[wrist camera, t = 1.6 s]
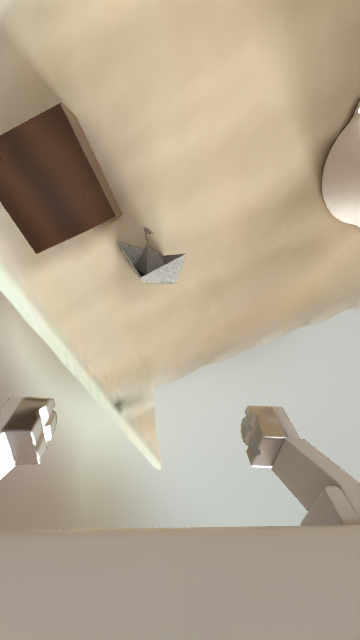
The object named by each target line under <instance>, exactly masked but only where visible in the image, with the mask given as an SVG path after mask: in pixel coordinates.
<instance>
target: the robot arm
mask: <svg viewBox="0 0 360 640" xmlns="http://www.w3.org/2000/svg"><path fill="white" fill-rule="evenodd" d="M322 193H323V198H324V202H325V204H326V206H327V208H328V210H329V211H330V213H331V214H332V215H333V216H334V217H335V218H337V219H338V220H340V221H342V222H345V223H349V224H353V225H356V226H358V227H359V228H360V101H359V103H358V106H357V108H356V111H355V113H354V116H353V118H352V119H351V121H350V122H349V124H348V125H347V126H346V127H345V129H344V130H343V131H342V133H341V134H340V135H339V137H338V138H337V140H336V141H335V143H334V145H333V146H332V148H331V150H330V152H329V155H328V157H327V160H326V163H325V166H324V170H323V176H322ZM54 406H55V403H54V399H52V398H39V397H19V396H12V397H11V398H9V399H8V401H7V402H6V403H5V405H4V406H3V407H2V409H1V410H0V479H1V478H3V477H4V476H5V475H6V474H7V473H8V472H9V471H10V470H11V469H13V468H14V467H15V465H19V464H20V465H21V464H40V462H41V460H42V458H43V456H44V453H45V451H46V449H47V444H46V441H48V440H49V439H50V438H51V437H52V436H53V434H54V431H55V427H56V423H57V415H56V412H55V411H54V410H53V408H54ZM245 414H246V417H245V418H243V419H242V423H241V435H242V439H243V442H244V443H245V444H246V445H247V446H248V449H247V451H246V452H247V455H248V458H249V461H250V464H251V467H271V469H272V470H273V472H274V473H275V474H276V475H277V476H278V477H279V478H280V480H281V481H282V482H283V483H284V484H285V485H286V487H287V488H288V489H289V490H290V491H291V492H292V493H293V495H294V496H295V497H296V498H297V499H298V500H299V502H300V503H301V504H302V505H303V506H304V507H305V509H306V510H307V511H308V512H307V514H306V516H305V517H304V519H303V520H302V522H301V526H260V527H259V526H257V527H255V526H254V527H185V528H121V529H120V528H119V529H61V530H59V529H56V530H0V640H360V483H359V482H358V481H357V480H355V479H354V478H353V477H352V476H350V475H349V474H348V473H346V472H345V471H344V470H343V469H341V468H340V467H339V466H338V465H336V464H335V463H334V462H332V461H331V460H330V459H329V458H327V457H326V456H325V455H324V454H322V453H321V452H320V451H318V450H317V449H316V448H315V447H313V446H312V445H311V444H310V443H308V442H307V441H306V440H304V439H300V437H299V435H298V433H297V432H296V430H295V428H294V426H293V425H292V423H291V422H290V419H289V418H288V416H287V414H286V412H285V410H284V409H283V408H282V407H273V406H270V407H269V406H247V408H246V410H245Z"/></svg>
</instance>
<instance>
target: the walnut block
mask: <svg viewBox="0 0 360 640" xmlns="http://www.w3.org/2000/svg"><path fill="white" fill-rule="evenodd" d="M0 202H1V203H2V205H3V206H4V208H5V209H6V210H7V212H8V213H9V215H10V216H11V218H12V219H13V221H14V222H15V224H16V225H17V227H18V228H19V229H20V231H21V232H22V234H23V235H24V237H25V238H26V240H27V241H28V243H29V244H30V246H31V247H32V248H33V250H34V251H35V253H36V254H37V253H40V252H42V251H44V250H46V249H48V248H51V247H53V246H55V245H57V244H59V243H62V242H64V241H66V240H68V239H70V238H72V237H75V236H77V235H79V234H81V233H83V232H86V231H88V230H90V229H92V228H94V227H97V226H99V225H101V224H103V223H105V222H107V221H110V220H112V219H114V218H116V217H118V216H120V215H122V212H121V210H120V208H119V206H118V204H117V202H116V200H115V197H114V195H113V193H112V191H111V189H110V187H109V185H108V183H107V181H106V179H105V176H104V174H103V172H102V170H101V168H100V166H99V164H98V162H97V160H96V157H95V155H94V153H93V151H92V149H91V147H90V145H89V143H88V141H87V139H86V136H85V134H84V132H83V130H82V128H81V126H80V124H79V122H78V120H77V118H76V116H75V115H74V114H73V113H72V112H70V111H69V110H68V109H67V108H66V107H65V106H63V105H62V104H61V103H60V104H58V105H56V106H54V107H52V108H50V109H48V110H47V111H45V112H43V113H41V114H39V115H37V116H36V117H34V118H32V119H30V120H28V121H26V122H24V123H23V124H21V125H19V126H17V127H15V128H13V129H12V130H10V131H8V132H6V133H4V134H2V135H0Z"/></svg>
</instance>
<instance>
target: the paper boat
mask: <svg viewBox="0 0 360 640" xmlns="http://www.w3.org/2000/svg"><path fill="white" fill-rule="evenodd" d="M144 231H145V235H146V234H152V233H153V232H152V231H150V230H149V229H148V228H146V227H144ZM146 240H147V235H146ZM117 242H118V241H117ZM118 244H119V246H120V247H121V249H122V251H123V253H124V254H125V256H126V258H127V260H128V262H129V263H130V265H131V267H132V269H133V270H134V272H135V274H136V275H137V276H138V277H139V278H140V280H141V281H142V282H143V283H153V284H173V283H177V280H178V277H179V274H180V271H181V268H182V265H183V262H184V259H185V256H186V254H177V255H167V256H163V255H160V254H156V253H155V251H154V250H153V249H152V248H151V247H150V246H149V244H148V240H147V245H146V247H145V249H140V248H137V247H134V246H131V245H128V244H124V243H121V242H118Z"/></svg>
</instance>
